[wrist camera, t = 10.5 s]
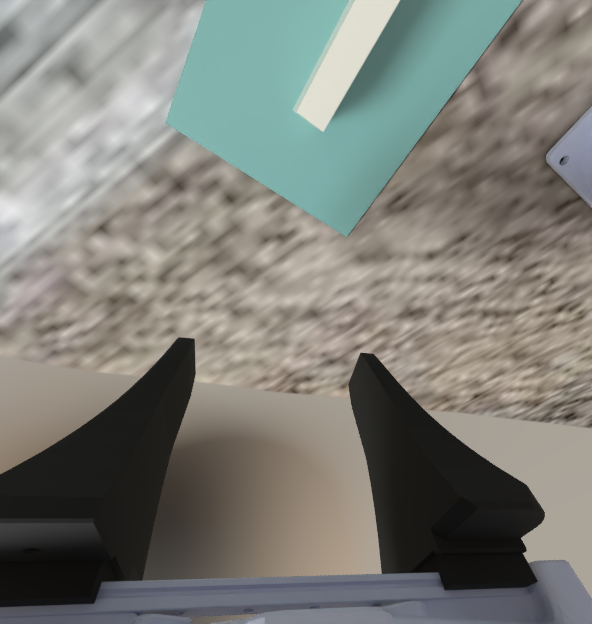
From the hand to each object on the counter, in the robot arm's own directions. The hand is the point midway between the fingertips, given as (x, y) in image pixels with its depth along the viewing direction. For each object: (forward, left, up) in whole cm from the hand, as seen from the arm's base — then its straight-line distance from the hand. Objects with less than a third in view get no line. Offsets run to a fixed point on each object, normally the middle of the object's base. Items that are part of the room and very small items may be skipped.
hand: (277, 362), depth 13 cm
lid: (+3, -11, -10) cm, 15 cm away
